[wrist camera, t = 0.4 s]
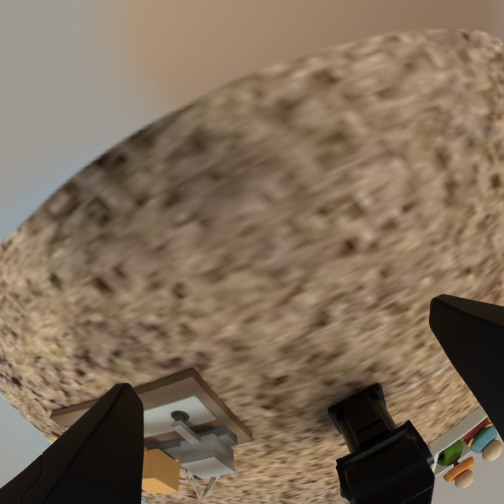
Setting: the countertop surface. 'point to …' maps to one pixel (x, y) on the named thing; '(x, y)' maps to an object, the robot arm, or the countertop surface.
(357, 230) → the countertop surface
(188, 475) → the grey tweezers
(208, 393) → the board
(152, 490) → the orange block with tab
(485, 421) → the colourful wooden stacking toy
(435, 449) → the parts tray
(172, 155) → the countertop surface
